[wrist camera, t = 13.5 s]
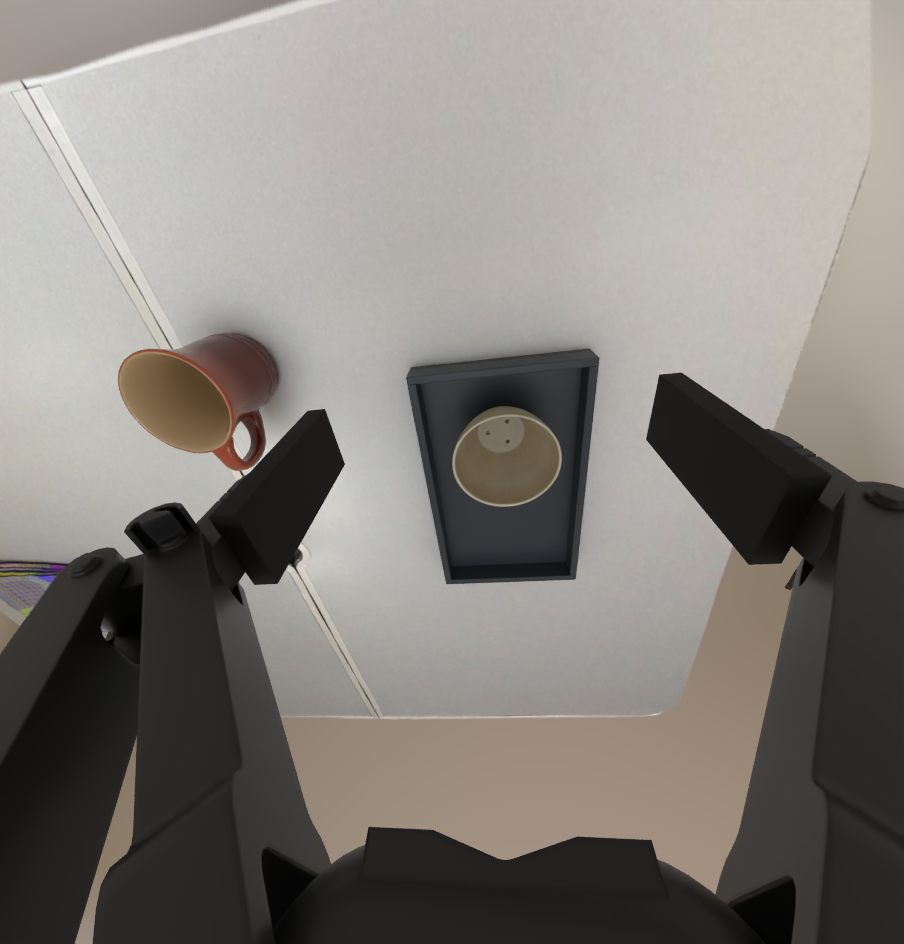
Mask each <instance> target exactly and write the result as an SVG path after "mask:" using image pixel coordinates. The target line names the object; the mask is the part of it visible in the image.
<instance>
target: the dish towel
mask: <svg viewBox="0 0 904 944" xmlns="http://www.w3.org/2000/svg"><path fill="white" fill-rule="evenodd" d="M64 567H66V566H64V565H50V564H23V563H2V564H0V598H1V599H2V600H3V601H4V602H6V603H7V604H8V605H9V606H11V607H12V608H14V609H16V610H17V611H19V612H20V613H21V614H23V615H24V616H25V617H27V616H28V615H29V613H30V612H31V610H32V609H33V608H34V606H35V605H36V603H37V602H38V601H39V599H40V598H41V596H42V595H43V593H44V592H45V591H46V589H47V588H48V586H49V585H50V584H51V582H52V581H53V579H54V578H55V577H56V575H57V574H58V573H59V572H60V571H61V570H62V569H63V568H64ZM101 631H102V632H109V631H108V630H106V629H105V628H104V627H103V626H102V625H101Z"/></svg>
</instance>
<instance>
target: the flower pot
mask: <svg viewBox="0 0 904 944" xmlns="http://www.w3.org/2000/svg"><path fill="white" fill-rule="evenodd" d="M506 420H507V422H505V421H506ZM487 433H489V434H487ZM507 440H509V441H507ZM561 462H562V454H561V448H560V445H559V442H558V440H557V438H556V437H555V435H554V434H553V432H552V431H551V430H550V429H549V428H548V426H547V425H546V424H545V423H543V422H542V421H541V420H540V419H539V418H537V417H536V416H534V415H533V414H531V413H529V412H527V411H525V410H523V409H520V408H516V407H511V406H499V407H494V408H491V409H488V410H486V411H484V412H482V413H481V414H479V415H478V416H476V417H475V418H474V419H473V420H472V421H471V422H470V423H469V424H468V425H467V427H466V428H465V429H464V431H463V432H462V434H461V436H460V438H459V440H458V442H457V444H456V447H455V450H454V454H453V460H452V467H453V473H454V476H455V478H456V480H457V483H458V484H459V486H460V487H461V488H462V489H463V490H464V492H466V493H467V494H468V495H469V496H470V497H472V498H474V499H475V500H477V501H479V502H482V503H485V504H487V505H492V506H500V507H508V506H516V505H520V504H524V503H527V502H529V501H531V500H534V499H535V498H537V497H539V496H540V495H542V494H543V493H544V492H545V491H546V490H547V489H548V488H549V487H550V486H551V485H552V484H553V483H554V481H555V480H556V478H557V476H558V474H559V471H560V468H561Z"/></svg>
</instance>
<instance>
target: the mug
mask: <svg viewBox="0 0 904 944" xmlns="http://www.w3.org/2000/svg"><path fill="white" fill-rule="evenodd" d="M118 385H119V390H120V394H121V396H122V399H123V401H124V403H125V405H126V407H127V408H128V410H129V411H130V413H131V414H132V416H133V417H134V418H135V419H136V420H137V421H138V423H139V424H140V425H141V426H142V427H143V428H145V429H146V430H147V431H148V432H149V433H151V434H152V435H153V436H155V437H156V438H158V439H159V440H161V441H163V442H164V443H166V444H168V445H170V446H173V447H175V448H178V449H181V450H184V451H188V452H192V453H208V452H213V453H214V454H215V455H216V456H217V457H218V458H219V459H220V460H221V461H222V462H223V463H224V464H225V465H226V466H227V467H228V468H230V469H232V470H236V471H241V470H246V469H249V468H251V467H253V466H254V465H255V464H256V463H257V462H258V461H259V460H260V458H261V457H262V455H263V452H264V450H265V445H266V437H265V431H264V426H263V421H262V417H261V415H260V412H259V408H260V407H262V406H263V405H265V404H266V403H267V401H268V400H269V399H270V398H271V396H272V394H273V392H274V391H275V388H276V385H277V371H276V367H275V365H274V362H273V361H272V359H271V357H270V356H269V354H268V353H267V352H266V351H265V350H264V349H263V348H262V347H261V346H260V345H259V344H258V343H256V342H255V341H253V340H252V339H250V338H248V337H245V336H242V335H239V334H218V335H211V336H208V337H206V338H204V339H202V340H199V341H196V342H194V343H192V344H189V345H187V346H185V347H183V348H180V349H176V350H166V349H145V350H140V351H137V352H135V353H133V354H131V355H130V356H128V357H127V358H126V359H125V360H124V361H123V363H122V365H121V366H120V369H119V374H118ZM240 421H241V422H242V423H243V424H244V425H245V426H246V428H247V429H248V431H249V434H250V437H251V446H250V449H249V451H248V453H247V454H246V456H245V457H244V458H243V459H241V458H240V457H239V456H238V455H237V453H236V451H235V449H234V442H233V437H232V435H233V433H234V431H235V429H236V427H237V425H238V424H239V422H240Z"/></svg>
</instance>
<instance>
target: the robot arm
mask: <svg viewBox="0 0 904 944" xmlns="http://www.w3.org/2000/svg"><path fill="white" fill-rule="evenodd" d="M646 440H647V441H648V442H649V444H650V445H651V446H652V447H653V449H654V450H655V451H656V452H657V453H658V455H659V456H660V457H661V458H662V459H663V461H664V462H665V463H666V464H667V466H668V467H669V468H670V469H671V470H672V472H673V473H674V474H675V475H676V477H677V478H678V479H679V480H680V481H681V483H682V484H683V485H684V486H685V488H686V489H687V490H688V491H689V492H690V494H691V495H692V496H693V497H694V498H695V500H696V501H697V502H698V503H699V505H700V506H701V507H702V508H703V509H704V511H705V512H706V513H707V514H708V516H709V517H710V518H711V519H712V520H713V522H714V523H715V524H716V525H717V526H718V528H719V529H720V530H721V531H722V533H723V534H724V535H725V536H726V537H727V539H728V540H729V541H730V542H731V544H732V545H733V546H734V547H735V548H736V550H737V551H738V552H739V553H740V555H741V556H742V557H743V558H744V559H745V561H746V562H747V563H748V564H749V565H754V564H779V563H782V562H783V560H784V558H785V556H786V555H787V553H788V551H789V550H790V548H791V546H792V547H793V548H795V550H797V552H798V553H799V554H800V555H801V556H802V557H803V559H802V561H801V562H800V564H799V566H798V567H797V569H796V570H795V572H794V574H793V575H792V577H791V579H790V580H789V582H788V583H787V585H786V587H785V588H786V589H789V590H791V589H792V588H793V589H792V593H791V598H790V602H789V607H788V611H787V616H786V620H785V625H784V630H783V634H782V638H781V643H780V648H779V652H778V657H777V661H776V666H775V670H774V675H773V679H772V684H771V688H770V694H769V698H768V702H767V707H766V711H765V716H764V720H763V725H762V729H761V734H760V739H759V743H758V748H757V752H756V757H755V761H754V766H753V770H752V775H751V780H750V784H749V788H748V793H747V798H746V802H745V807H744V811H743V816H742V820H741V825H740V828H739V832H738V835H737V838H736V841H735V843H734V845H733V847H732V849H731V851H730V853H729V855H728V857H727V859H726V861H725V865H724V867H723V870H722V872H721V876H720V880H719V883H718V887H717V891H716V895H715V894H714V893H713V892H711V891H710V890H709V889H707V888H706V887H704V886H703V885H702V884H700V883H699V882H697V881H696V880H695V879H693V878H692V877H690V876H689V875H687V874H685V873H684V872H682V871H680V870H678V869H676V868H675V867H673V866H671V865H669V864H667V863H665V862H662V861H660V860H658V859H657V858H656V854H655V851H654V847H653V844H652V840H635V839H615V838H594V837H575V838H572V839H569V840H566V841H563V842H560V843H557V844H555V845H552V846H549V847H546V848H543V849H540V850H537V851H534V852H532V853H528V854H525V855H523V856H520V857H517V858H514V859H510V860H501V859H497V858H495V857H493V856H491V855H488V854H486V853H484V852H482V851H479V850H477V849H475V848H473V847H470V846H468V845H466V844H464V843H461V842H459V841H457V840H454V839H452V838H450V837H448V836H445V835H443V834H441V833H439V832H436V831H434V830H422V829H401V828H380V827H369V828H368V834H367V839H366V844H365V845H364V846H361V847H358V848H357V849H355V850H353V851H351V852H349V853H347V854H345V855H343V856H342V857H341V858H339V859H338V860H336V861H335V862H334V863H332V864H331V862H330V860H329V856H328V853H327V851H326V849H325V846H324V844H323V842H322V839H321V837H320V835H319V834H318V832H317V830H316V828H315V826H314V825H313V823H312V821H311V819H310V816H309V814H308V811H307V808H306V804H305V801H304V797H303V794H302V791H301V787H300V783H299V780H298V776H297V773H296V770H295V766H294V763H293V759H292V756H291V752H290V749H289V745H288V742H287V738H286V735H285V731H284V728H283V725H282V721H281V717H280V714H279V710H278V707H277V703H276V700H275V696H274V693H273V690H272V686H271V683H270V679H269V676H268V672H267V669H266V665H265V662H264V658H263V655H262V651H261V648H260V644H259V641H258V637H257V634H256V630H255V627H254V623H253V620H252V617H251V613H250V610H249V606H248V603H247V599H246V596H245V592H244V589H243V588H242V587H241V585H240V584H239V580H240V579H241V577H242V576H243V574H244V573H245V572H246V573H247V575H248V576H249V578H250V579H251V581H252V582H253V584H254V585H261V584H278V582H279V580H280V579H281V577H282V575H283V573H284V571H285V570H286V568H287V566H288V564H289V563H290V561H291V559H292V557H293V555H294V554H295V552H296V550H297V548H298V547H299V545H300V543H301V541H302V540H303V538H304V536H305V534H306V532H307V531H308V529H309V527H310V525H311V524H312V522H313V520H314V518H315V516H316V515H317V513H318V511H319V509H320V508H321V506H322V504H323V502H324V500H325V499H326V497H327V495H328V493H329V492H330V490H331V488H332V486H333V484H334V483H335V481H336V479H337V477H338V476H339V474H340V472H341V470H342V468H343V467H344V465H345V463H344V461H343V458H342V455H341V452H340V450H339V447H338V444H337V441H336V438H335V436H334V433H333V430H332V427H331V424H330V422H329V419H328V416H327V413H326V411H325V409H321V410H311V411H307V412H306V413H305V414H304V415H303V416H302V417H301V419H300V420H299V421H298V422H297V423H296V424H295V425H294V426H293V427H292V428H291V429H290V430H289V431H288V432H287V433H286V434H285V436H284V437H283V438H282V439H281V440H280V441H279V442H278V443H277V444H276V445H275V446H274V447H273V448H272V449H271V450H270V452H269V453H268V454H267V455H266V456H265V457H264V458H263V459H262V460H261V461H260V462H259V463H258V464H257V465H256V466H255V468H254V469H253V470H252V471H251V472H250V473H249V474H247V475H245V476H244V477H242V478H241V479H239V480H238V481H236V482H235V483H234V485H233V486H232V487H231V488H230V489H229V490H228V491H227V493H225V494H224V495H223V496H222V497H221V498H220V499H219V500H220V501H217V502H216V503H215V504H214V505H213V506H212V507H211V509H210V510H209V511H208V512H207V513H206V514H205V515H204V516H203V517H202V518H201V519H200V520H199V521H198V522H197V523H195V522H194V520H193V519H192V518H191V516H190V515H189V513H188V512H187V511H186V509H185V508H184V506H183V505H182V504H181V503H168V504H164V505H161V506H157V507H155V508H152V509H150V510H148V511H146V512H144V513H143V514H141V515H139V516H138V517H136V518H135V519H134V520H133V521H131V522H130V523H129V524H128V525H127V527H126V529H125V531H124V532H125V533H126V535H127V536H128V537H129V538H130V539H131V540H132V541H133V542H134V544H135V545H136V546H137V547H138V548H139V549H140V550H141V551H142V552H143V554H142V555H138V556H134V557H131V558H127V559H124V558H123V557H122V556H121V555H120V554H119V553H118V552H117V551H116V550H115V549H114V548H102V549H98V550H95V551H92V552H90V553H86V554H84V555H81V556H80V558H79V557H78V558H76V559H74V560H73V561H72V562H71V563H70V564H69V565H67V566H66V567H64V568H63V569H62V570H61V571H60V572H59V573H58V574H57V575H56V577H55V578H54V579H53V581H52V582H51V584H50V585H49V586H48V588H47V589H46V591H45V592H44V593H43V595H42V596H41V598H40V599H39V601H38V602H37V603H36V605H35V606H34V608H33V609H32V610H31V612H30V613H29V615H28V616H27V617H26V619H25V620H24V622H23V623H22V624H21V626H20V627H19V629H18V630H17V632H16V633H15V634H14V636H13V637H12V639H11V640H10V642H9V643H8V644H7V646H6V647H5V649H4V650H3V651H2V653H1V654H0V944H75V940H76V937H77V934H78V930H79V927H80V924H81V920H82V917H83V913H84V910H85V907H86V904H87V900H88V897H89V894H90V890H91V887H92V884H93V880H94V877H95V874H96V870H97V867H98V864H99V860H100V857H101V854H102V850H103V847H104V844H105V840H106V837H107V833H108V830H109V827H110V823H111V820H112V817H113V813H114V810H115V807H116V803H117V800H118V797H119V793H120V790H121V787H122V783H123V780H124V777H125V773H126V770H127V767H128V763H129V760H130V756H131V753H132V750H133V747H134V743H135V740H136V737H137V752H136V777H135V801H134V803H135V804H134V826H133V838H132V844H131V846H130V849H129V851H128V853H127V854H126V855H125V856H124V857H122V858H121V859H120V860H119V861H118V862H116V863H115V864H114V865H113V866H112V867H110V869H109V871H108V872H107V874H106V876H105V878H104V880H103V882H102V884H101V887H100V892H99V897H98V902H97V907H96V915H95V925H94V937H93V944H904V488H901V487H898V486H895V485H891V484H885V483H879V482H857V481H856V480H854V479H852V478H851V477H849V476H848V475H846V474H845V473H843V472H842V471H840V470H839V469H837V468H836V467H834V466H833V465H831V464H830V463H828V462H826V461H825V460H823V459H822V458H820V457H816V454H814V453H813V452H811V451H810V450H808V449H807V448H805V449H804V448H803V446H802V445H801V444H799V443H797V442H796V441H794V440H793V439H791V438H790V437H788V436H785V435H783V434H780V433H777V432H775V431H772V430H770V429H763V428H762V427H760V426H759V425H757V424H756V423H754V422H753V421H752V420H750V419H749V418H747V417H746V416H744V415H743V414H741V413H740V412H738V411H737V410H735V409H734V408H732V407H731V406H730V405H728V404H727V403H725V402H724V401H722V400H721V399H719V398H718V397H716V396H715V395H713V394H712V393H711V392H709V391H708V390H706V389H705V388H703V387H702V386H700V385H699V384H697V383H696V382H694V381H693V380H692V379H690V378H689V377H687V376H686V375H684V374H683V373H672V374H663V375H659V379H658V384H657V389H656V394H655V399H654V404H653V409H652V414H651V418H650V423H649V428H648V433H647V438H646ZM101 625H102V626H103V627H104V628H105V629H106V630H108V631H109V632H108V634H107V637H106V639H105V638H104V637H103V635H102V631H101Z"/></svg>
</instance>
